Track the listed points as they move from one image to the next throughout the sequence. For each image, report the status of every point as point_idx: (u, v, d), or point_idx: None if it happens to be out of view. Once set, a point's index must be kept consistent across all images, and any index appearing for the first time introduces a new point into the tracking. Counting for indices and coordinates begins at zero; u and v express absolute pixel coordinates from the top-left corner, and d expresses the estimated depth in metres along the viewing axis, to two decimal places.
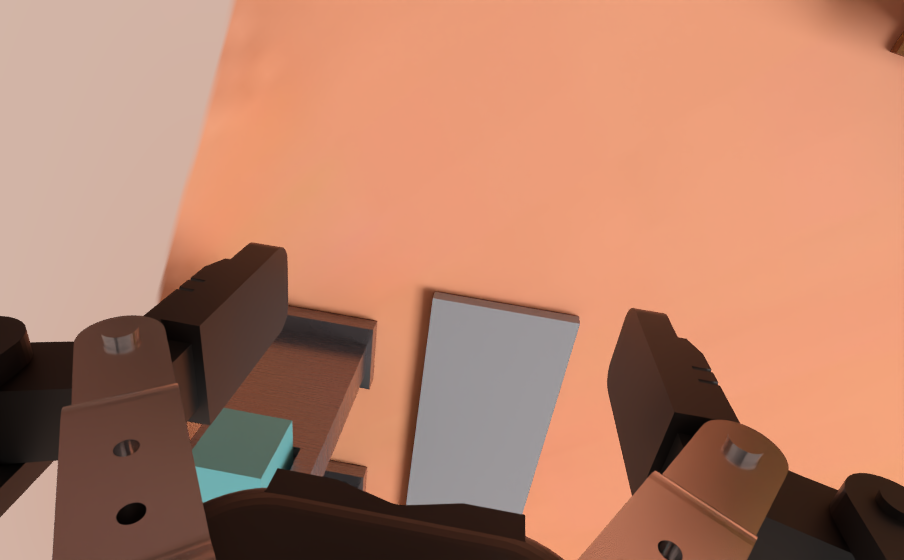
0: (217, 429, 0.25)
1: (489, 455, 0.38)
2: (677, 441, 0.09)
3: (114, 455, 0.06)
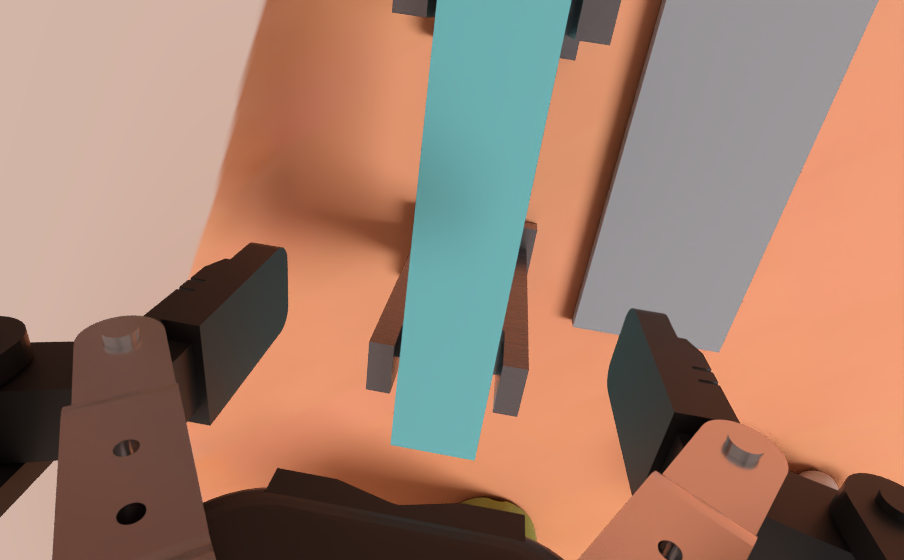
0: None
1: (726, 176, 0.28)
2: (676, 441, 0.09)
3: (114, 455, 0.06)
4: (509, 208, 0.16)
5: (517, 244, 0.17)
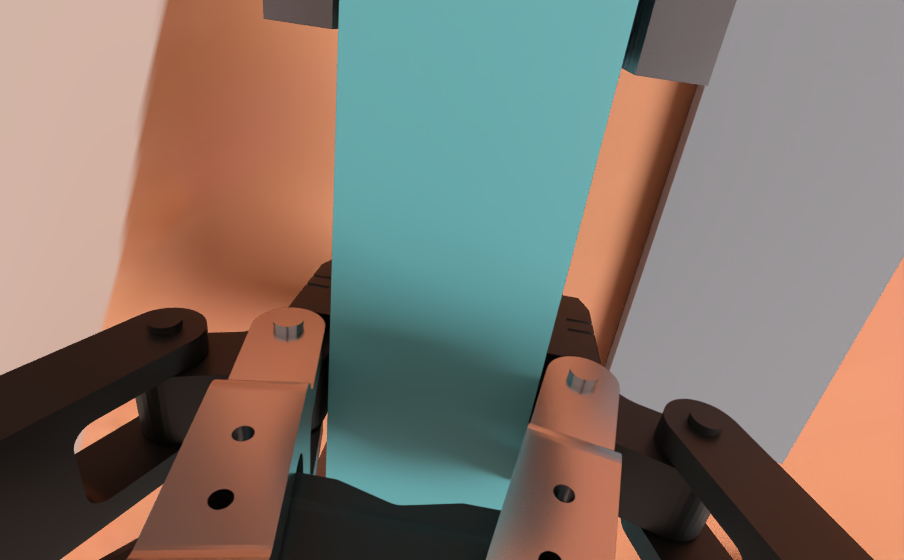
0: None
1: (806, 244, 0.20)
2: (540, 378, 0.10)
3: (232, 437, 0.06)
4: (502, 387, 0.09)
5: (518, 443, 0.09)
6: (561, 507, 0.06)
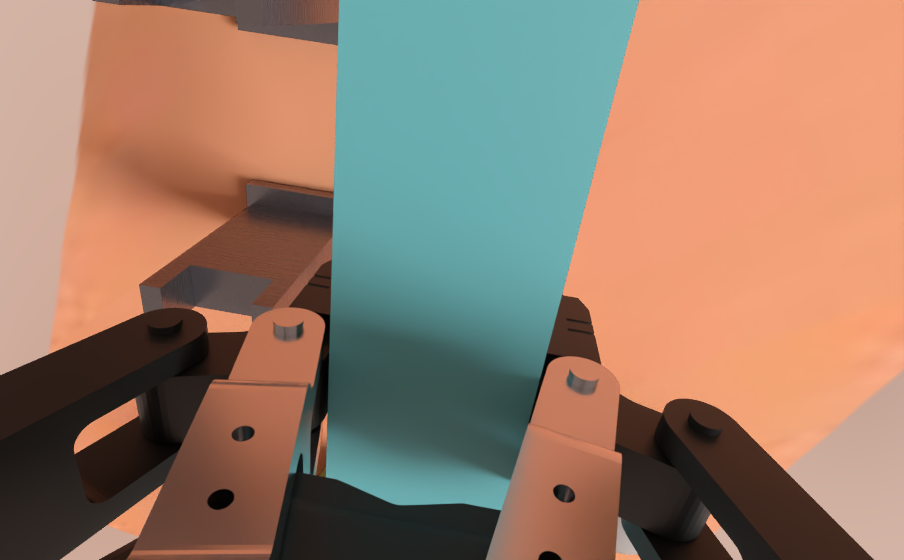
0: None
1: None
2: (540, 378, 0.10)
3: (232, 436, 0.06)
4: (502, 389, 0.09)
5: (517, 445, 0.09)
6: (560, 507, 0.06)
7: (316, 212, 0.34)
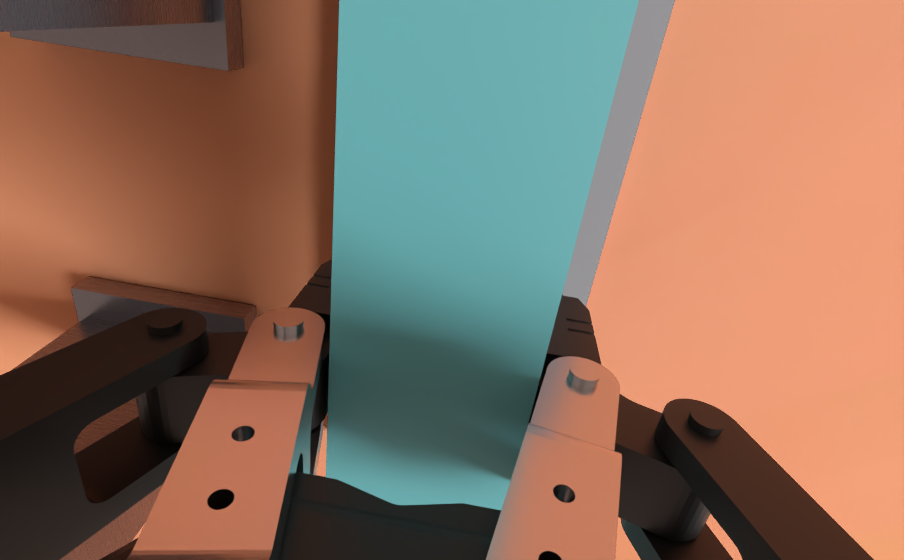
0: None
1: None
2: (540, 378, 0.10)
3: (231, 437, 0.06)
4: (502, 389, 0.09)
5: (517, 445, 0.09)
6: (560, 507, 0.06)
7: None
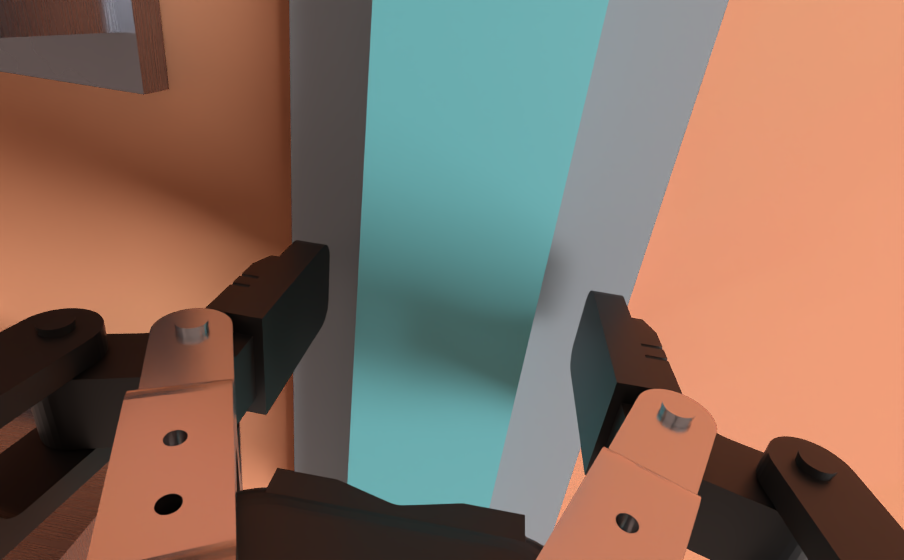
0: None
1: None
2: (620, 410, 0.09)
3: (163, 444, 0.06)
4: (502, 327, 0.10)
5: (515, 377, 0.11)
6: (621, 536, 0.06)
7: None
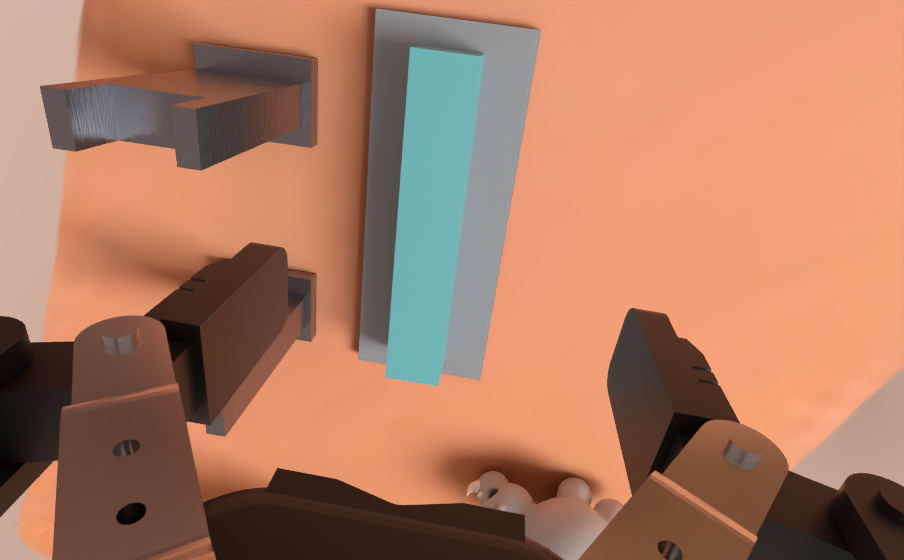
0: (426, 47, 0.28)
1: None
2: (676, 440, 0.09)
3: (113, 455, 0.06)
4: (448, 229, 0.30)
5: (454, 249, 0.30)
6: None
7: None
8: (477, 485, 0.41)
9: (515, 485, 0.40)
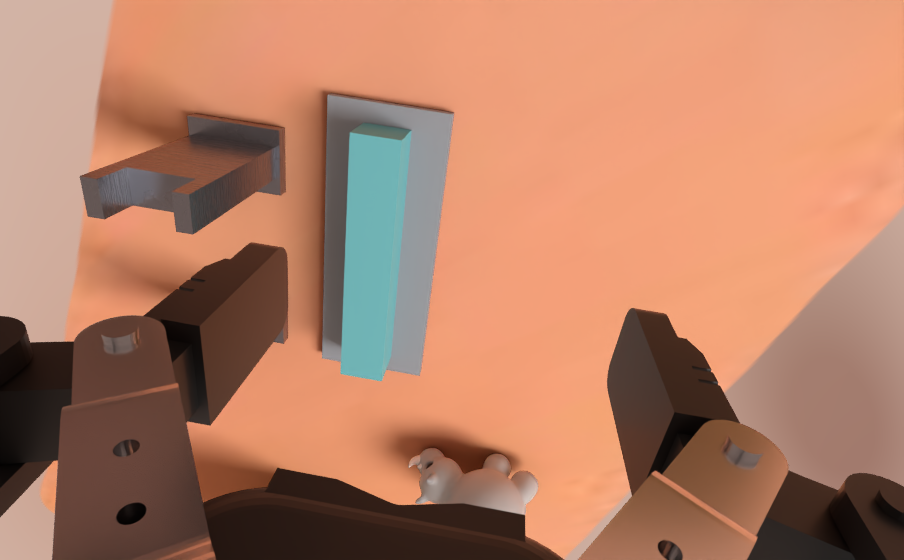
0: (364, 127, 0.37)
1: None
2: (676, 441, 0.09)
3: (114, 455, 0.06)
4: (383, 263, 0.39)
5: (389, 278, 0.39)
6: None
7: None
8: (418, 459, 0.51)
9: (447, 459, 0.50)
